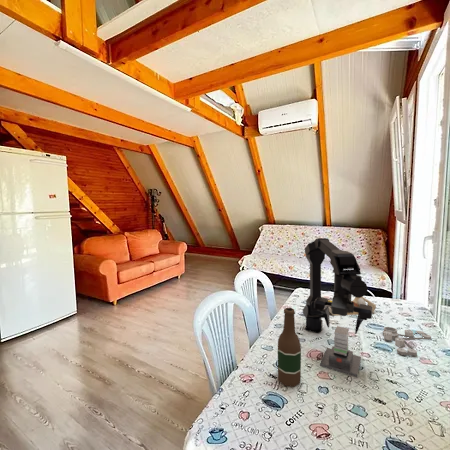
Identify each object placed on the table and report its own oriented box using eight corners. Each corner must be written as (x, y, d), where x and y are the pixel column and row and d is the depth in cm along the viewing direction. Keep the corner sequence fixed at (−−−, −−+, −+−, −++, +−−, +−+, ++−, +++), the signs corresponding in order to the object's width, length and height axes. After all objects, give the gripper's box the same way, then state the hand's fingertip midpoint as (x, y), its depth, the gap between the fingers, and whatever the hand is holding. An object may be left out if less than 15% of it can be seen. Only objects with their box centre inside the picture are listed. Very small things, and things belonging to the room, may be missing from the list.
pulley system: (370, 346, 108) (413, 361, 96) (370, 335, 107) (413, 348, 96) (394, 328, 125) (433, 339, 113) (394, 318, 125) (433, 328, 113)
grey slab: (333, 353, 94) (334, 332, 93) (336, 346, 99) (336, 325, 98) (346, 357, 92) (346, 335, 91) (348, 349, 96) (348, 328, 96)
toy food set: (357, 302, 155) (357, 289, 154) (376, 315, 137) (377, 300, 136) (315, 303, 153) (315, 290, 153) (329, 316, 135) (329, 302, 135)
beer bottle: (297, 391, 81) (297, 316, 79) (273, 382, 85) (273, 310, 83) (303, 376, 88) (304, 307, 86) (281, 369, 92) (282, 303, 90)
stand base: (319, 365, 94) (320, 356, 93) (327, 350, 104) (327, 341, 103) (357, 377, 87) (357, 367, 87) (360, 359, 97) (361, 350, 97)
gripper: (310, 289, 91) (309, 332, 93) (371, 299, 81) (369, 347, 82) (317, 281, 101) (317, 321, 102) (373, 289, 91) (372, 333, 92)
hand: (341, 330), depth 94 cm, fingers open, 9 cm apart
